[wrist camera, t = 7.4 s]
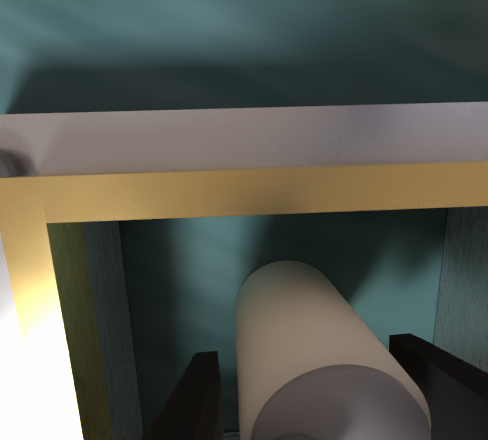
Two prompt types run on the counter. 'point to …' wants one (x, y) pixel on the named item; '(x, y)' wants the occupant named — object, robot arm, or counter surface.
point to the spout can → (316, 365)
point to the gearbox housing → (203, 205)
